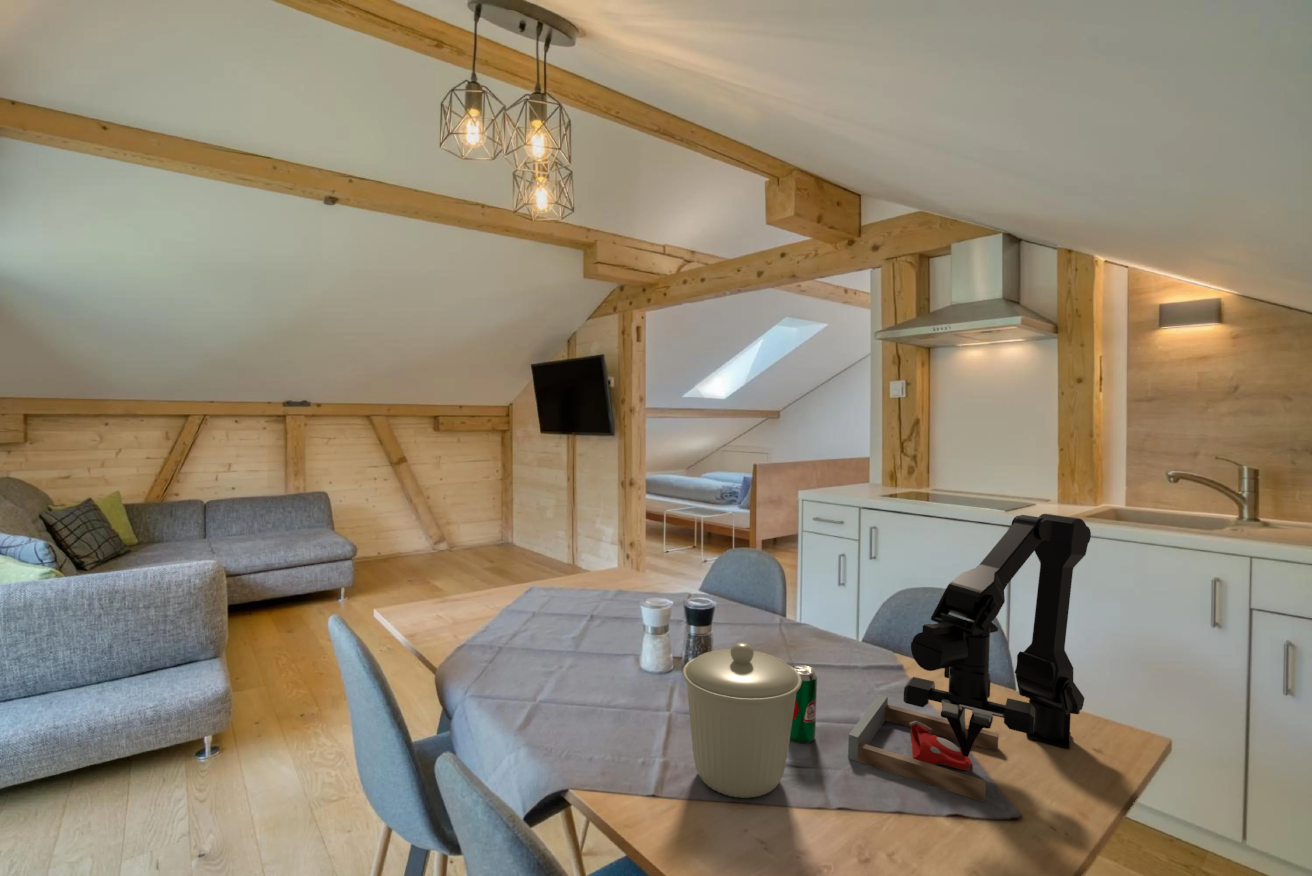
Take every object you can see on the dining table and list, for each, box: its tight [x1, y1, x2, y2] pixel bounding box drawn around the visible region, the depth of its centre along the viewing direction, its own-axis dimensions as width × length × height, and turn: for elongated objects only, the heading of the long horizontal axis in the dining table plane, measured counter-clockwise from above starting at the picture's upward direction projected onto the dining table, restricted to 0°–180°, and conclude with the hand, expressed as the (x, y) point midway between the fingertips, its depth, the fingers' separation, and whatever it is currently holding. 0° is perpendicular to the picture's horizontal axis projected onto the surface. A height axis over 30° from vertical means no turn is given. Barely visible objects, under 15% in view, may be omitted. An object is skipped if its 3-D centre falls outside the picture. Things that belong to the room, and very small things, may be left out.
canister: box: [682, 641, 802, 799], centre depth 97 cm, size 18×18×21 cm
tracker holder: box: [910, 721, 972, 771], centre depth 106 cm, size 12×4×10 cm
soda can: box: [790, 664, 818, 744], centre depth 110 cm, size 5×5×12 cm
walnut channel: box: [856, 704, 1000, 803], centre depth 106 cm, size 18×19×2 cm
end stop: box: [847, 694, 889, 762], centre depth 111 cm, size 2×19×4 cm, turn 146°
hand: (965, 755), depth 102 cm, fingers closed
